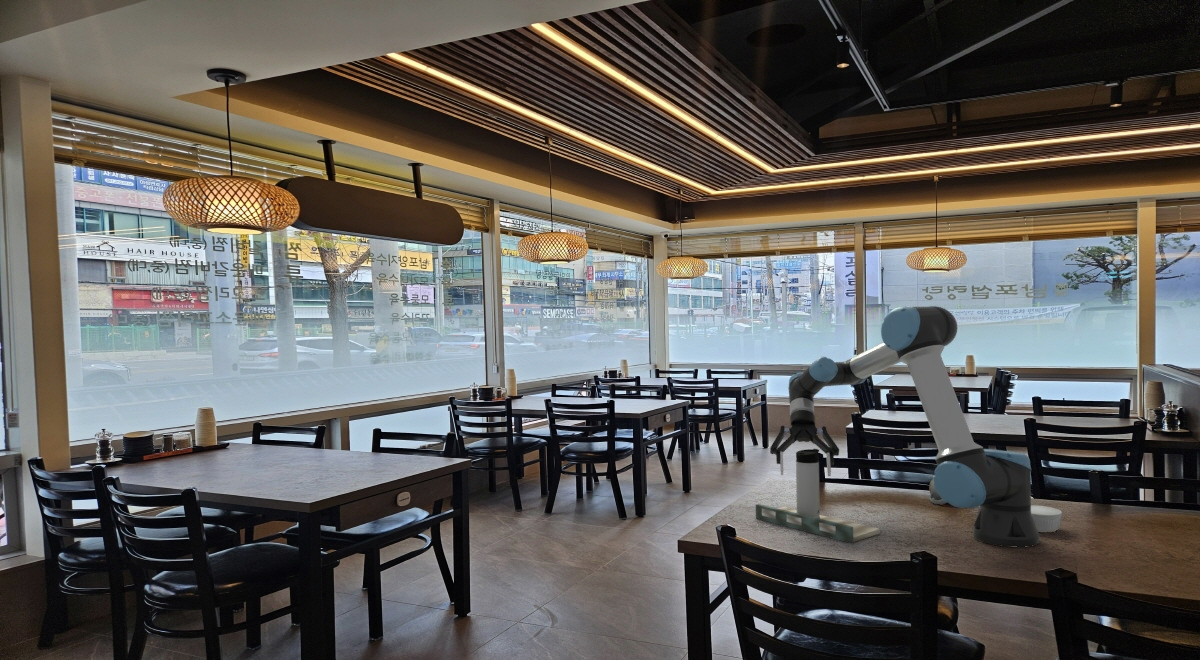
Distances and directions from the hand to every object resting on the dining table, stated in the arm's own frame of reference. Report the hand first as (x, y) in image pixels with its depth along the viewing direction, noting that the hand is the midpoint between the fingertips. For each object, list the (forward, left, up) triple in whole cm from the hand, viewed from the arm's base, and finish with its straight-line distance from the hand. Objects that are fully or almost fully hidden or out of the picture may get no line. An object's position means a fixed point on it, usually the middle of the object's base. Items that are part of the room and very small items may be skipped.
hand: (805, 473), depth 218 cm
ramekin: (-49, -36, -13) cm, 62 cm away
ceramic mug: (-18, -46, -13) cm, 51 cm away
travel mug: (-6, +7, -12) cm, 15 cm away
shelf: (-8, +7, -13) cm, 17 cm away
